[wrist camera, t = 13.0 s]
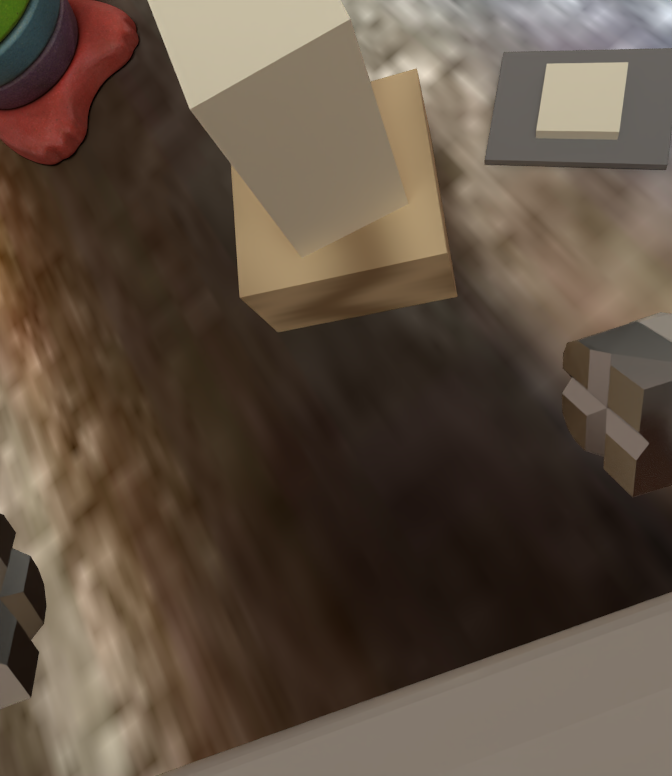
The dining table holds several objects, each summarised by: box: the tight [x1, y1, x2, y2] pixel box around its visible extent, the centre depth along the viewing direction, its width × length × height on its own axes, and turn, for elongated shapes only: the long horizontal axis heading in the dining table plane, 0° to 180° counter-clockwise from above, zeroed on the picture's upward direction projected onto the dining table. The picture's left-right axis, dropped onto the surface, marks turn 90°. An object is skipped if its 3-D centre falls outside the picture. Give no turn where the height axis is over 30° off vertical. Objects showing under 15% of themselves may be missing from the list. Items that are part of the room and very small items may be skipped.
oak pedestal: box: [231, 69, 457, 332], centre depth 30 cm, size 9×9×5 cm
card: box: [485, 48, 672, 170], centre depth 30 cm, size 8×6×1 cm
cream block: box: [148, 0, 408, 258], centre depth 23 cm, size 5×5×10 cm
